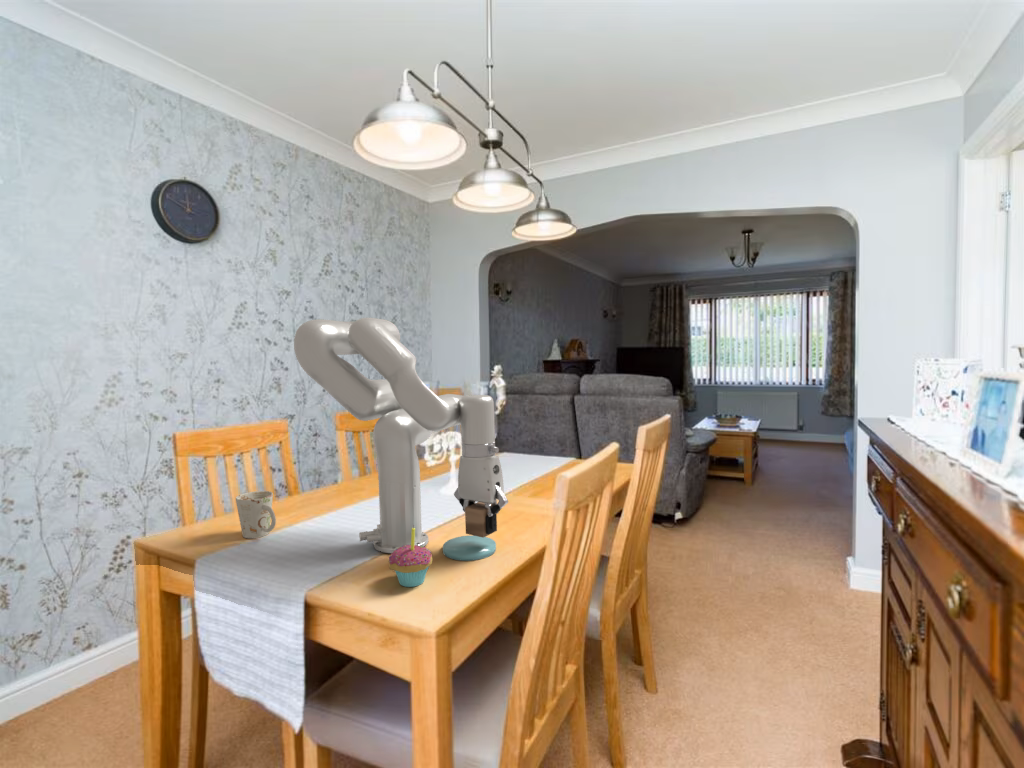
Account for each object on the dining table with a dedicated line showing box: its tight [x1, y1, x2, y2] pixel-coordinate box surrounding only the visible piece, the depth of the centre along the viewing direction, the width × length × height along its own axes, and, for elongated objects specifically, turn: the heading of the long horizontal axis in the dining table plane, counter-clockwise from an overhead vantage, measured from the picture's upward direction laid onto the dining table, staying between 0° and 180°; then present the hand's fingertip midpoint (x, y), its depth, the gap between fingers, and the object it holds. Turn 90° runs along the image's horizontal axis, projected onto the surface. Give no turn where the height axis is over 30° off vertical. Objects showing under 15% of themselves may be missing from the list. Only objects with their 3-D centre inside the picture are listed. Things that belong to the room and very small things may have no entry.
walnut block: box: [464, 502, 498, 538], centre depth 116 cm, size 5×5×6 cm
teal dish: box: [442, 535, 497, 562], centre depth 116 cm, size 12×12×1 cm
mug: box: [235, 490, 277, 539], centre depth 128 cm, size 8×13×10 cm, turn 60°
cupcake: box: [388, 525, 433, 588], centre depth 100 cm, size 9×8×12 cm
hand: (481, 529), depth 116 cm, fingers closed on walnut block, 5 cm apart
